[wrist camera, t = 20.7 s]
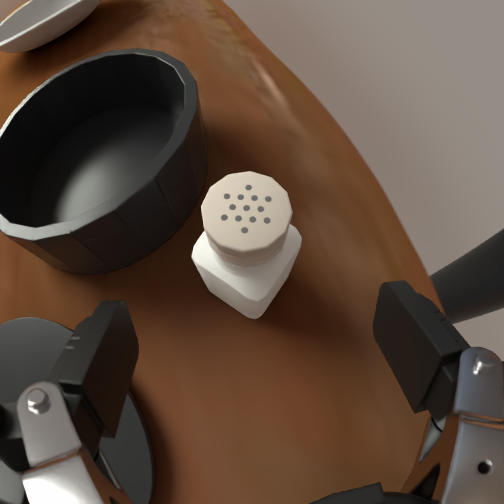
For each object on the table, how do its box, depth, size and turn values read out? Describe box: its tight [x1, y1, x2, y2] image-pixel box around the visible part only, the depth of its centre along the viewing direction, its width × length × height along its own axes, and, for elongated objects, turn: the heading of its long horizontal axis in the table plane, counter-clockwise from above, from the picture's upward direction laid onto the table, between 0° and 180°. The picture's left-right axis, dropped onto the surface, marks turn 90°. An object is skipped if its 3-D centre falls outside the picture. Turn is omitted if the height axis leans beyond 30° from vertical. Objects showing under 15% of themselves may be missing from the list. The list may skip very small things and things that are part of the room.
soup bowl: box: [0, 0, 100, 53], centre depth 30 cm, size 24×24×7 cm
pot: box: [0, 48, 208, 275], centre depth 20 cm, size 17×17×6 cm
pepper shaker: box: [192, 171, 302, 319], centre depth 15 cm, size 4×4×10 cm
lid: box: [0, 317, 155, 504], centre depth 12 cm, size 18×18×7 cm
